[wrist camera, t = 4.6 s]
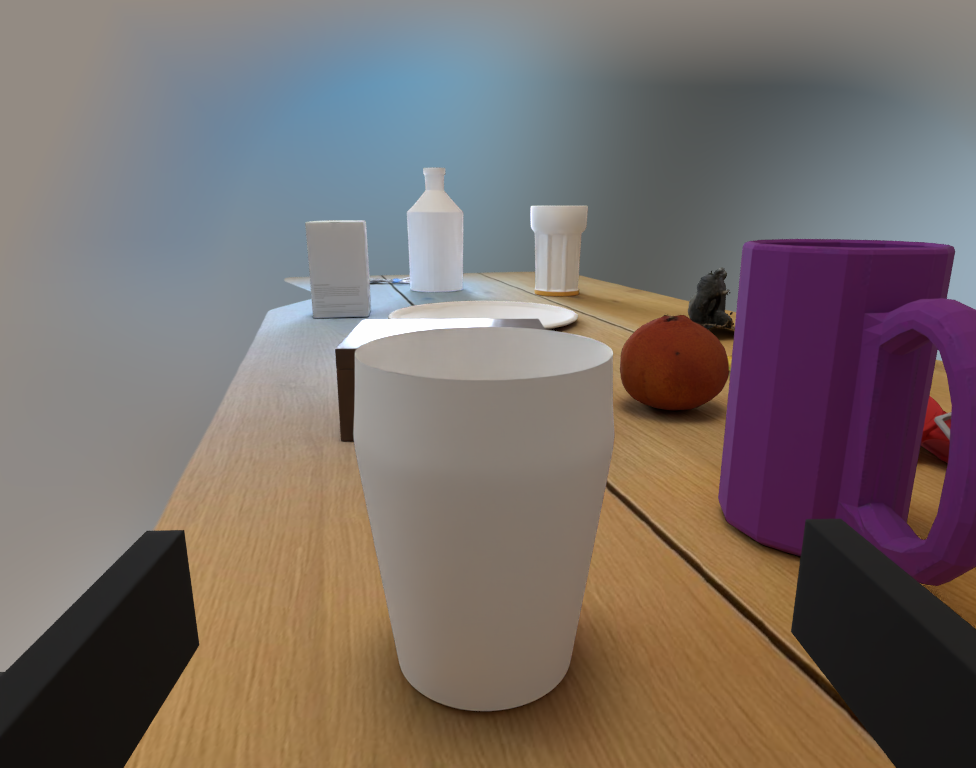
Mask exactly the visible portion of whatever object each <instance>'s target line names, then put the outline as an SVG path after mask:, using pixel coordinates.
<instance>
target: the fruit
mask: <svg viewBox="0 0 976 768" xmlns="http://www.w3.org/2000/svg"><path fill="white" fill-rule="evenodd" d="M620 373H621V379H622V384H623V386H624V388H625V389H626V391H627V392H628V393H629V394H630V395H631V396H632V397H633V398H634V399H635V400H637V401H639V402H641V403H643V404H645V405H648V406H651V407H655V408H659V409H664V410H672V411H673V410H687V409H692V408H696V407H699V406H701V405H703V404H705V403H707V402H708V401H710V400H712V399H713V398H714V397H715V396H716V395H718V394H719V393H720V392H721V391H722V389H723V387H724V385H725V383H726V381H727V379H728V374H729V363H728V358H727V355H726V351H725V348H724V347H723V345H722V344H721V343H720V341H719V339H718V338H717V337H716V336H715V335H714V334H713V333H711V332H710V331H709V330H707V329H706V328H704V327H703V326H701V325H699V324H697V323H695V322H693V321H692V320H691V319H689V318H688V317H686V316H685V315H679V316H663V317H661V318H658V319H655V320H653V321H650V322H649V323H646V324H644V325H642V326H641V327H640V328H639V329H637V330H636V331H635V332H634V333H633V334H632V335H631V336H630V338H629V339H628V340H627V341H626V343H625V344H624V347H623V349H622V352H621V361H620Z"/></svg>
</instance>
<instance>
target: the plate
mask: <svg viewBox="0 0 976 768" xmlns="http://www.w3.org/2000/svg"><path fill="white" fill-rule="evenodd" d="M577 318H578V315H577V314H576V313H575V312H573V311H572V310H569V309H565V308H562V307H558V306H552V305H547V304H538V303H529V302H513V301H456V302H440V303H429V304H422V305H415V306H410V307H406V308H401V309H398V310H396V311H394V312H391V313H390V314H389V316H388V319H389V320H395V319H539V320H540V322H541V323H542V325H543V326H544V328H545V329H552V328H557V327H561V326H565V325H568V324H570V323H572V322H575V321H576V320H577Z"/></svg>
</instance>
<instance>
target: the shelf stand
mask: <svg viewBox="0 0 976 768" xmlns="http://www.w3.org/2000/svg"><path fill="white" fill-rule="evenodd" d="M456 327H514V328H530V329H541V330H546V329H545V328H544V326H543V325H542V323H541V322H540V320H539V319H395V320H362V321H361V322H360V323H359V324H358V325H357V326H356V327H355V329H354V330H353V331H352V332H351V333H350V334H349V335H348V336H347V337H346V338H345V339H344V340H343V341H342V342H341V343H340V345H339V346H338V347H337V348H336V349H335V353H336V368H337V384H338V400H339V416H340V433H341V441H354V436H353V431H354V402H355V351H356V350H357V348H358V347H360V346H361V345H363V344H365V343H367V342H369V341H372V340H375V339H378V338H382V337H385V336H390V335H394V334H399V333H405V332H412V331H420V330H429V329H440V328H456Z"/></svg>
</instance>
